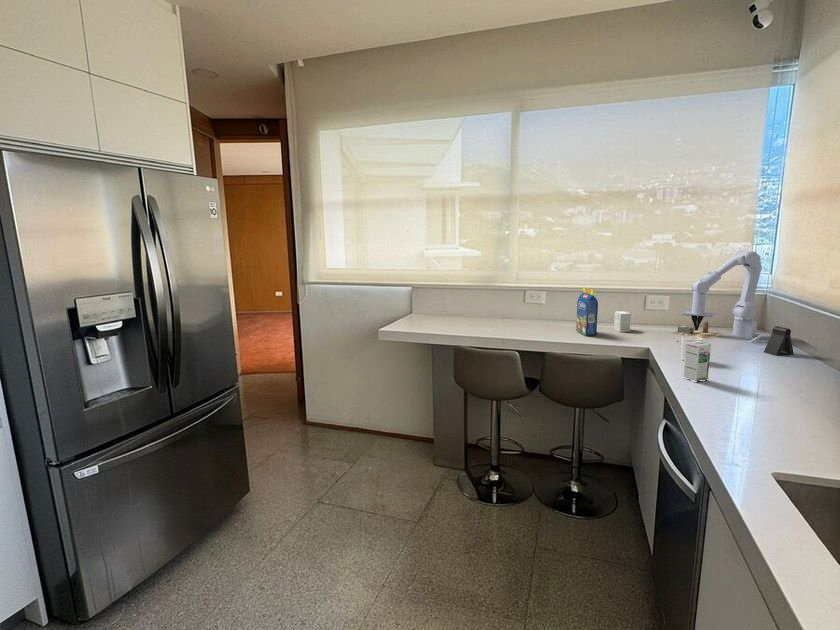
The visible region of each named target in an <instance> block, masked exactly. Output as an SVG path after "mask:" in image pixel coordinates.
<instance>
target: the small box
mask: <svg viewBox="0 0 840 630" xmlns="http://www.w3.org/2000/svg"><path fill="white" fill-rule="evenodd" d="M631 316H632V314H631V313H630V312H627V311H624V310H623V311H622V310H620V311H619V310H617V311H614V325H613V329H614V330H615V331H617V332H618V333H630V332H631V319H632V318H631Z"/></svg>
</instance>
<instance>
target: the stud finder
mask: <svg viewBox="0 0 840 630" xmlns="http://www.w3.org/2000/svg"><path fill="white" fill-rule="evenodd" d="M694 329H695V328H694V326H688V325H680V326H678V327H677V331H678V332H680V333H686V334H691V333H693V332H694Z"/></svg>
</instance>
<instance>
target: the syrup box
mask: <svg viewBox="0 0 840 630" xmlns="http://www.w3.org/2000/svg"><path fill="white" fill-rule="evenodd" d="M711 346H712V345H711V344H710V343H708V342H705V341H702V342H701V341H696V342H687V343H686V351H685V361H684V366H683V377H686V378H689V379H692V380H695V381H700V380H707V379H708V380H709V372H710V371H709V370H710V357H711Z"/></svg>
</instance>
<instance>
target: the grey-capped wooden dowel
mask: <svg viewBox="0 0 840 630" xmlns="http://www.w3.org/2000/svg"><path fill="white" fill-rule="evenodd" d="M709 327H710V325H709V320H708V321H707V320H704V322H703V325H702V331H703V333H708V332H709Z"/></svg>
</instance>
